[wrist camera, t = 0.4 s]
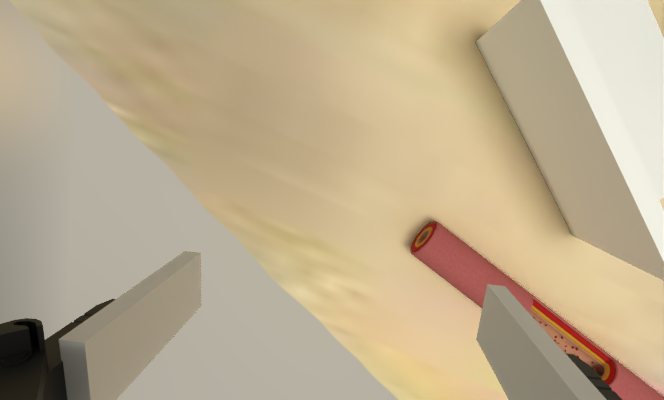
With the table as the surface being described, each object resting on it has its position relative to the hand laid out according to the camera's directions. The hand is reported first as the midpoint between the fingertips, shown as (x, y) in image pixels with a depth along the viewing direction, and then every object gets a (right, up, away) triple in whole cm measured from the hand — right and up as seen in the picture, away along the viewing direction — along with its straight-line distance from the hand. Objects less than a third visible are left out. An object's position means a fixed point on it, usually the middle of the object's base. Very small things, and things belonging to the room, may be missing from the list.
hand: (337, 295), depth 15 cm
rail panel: (+30, +15, +22) cm, 40 cm away
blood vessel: (+28, -12, +28) cm, 42 cm away
